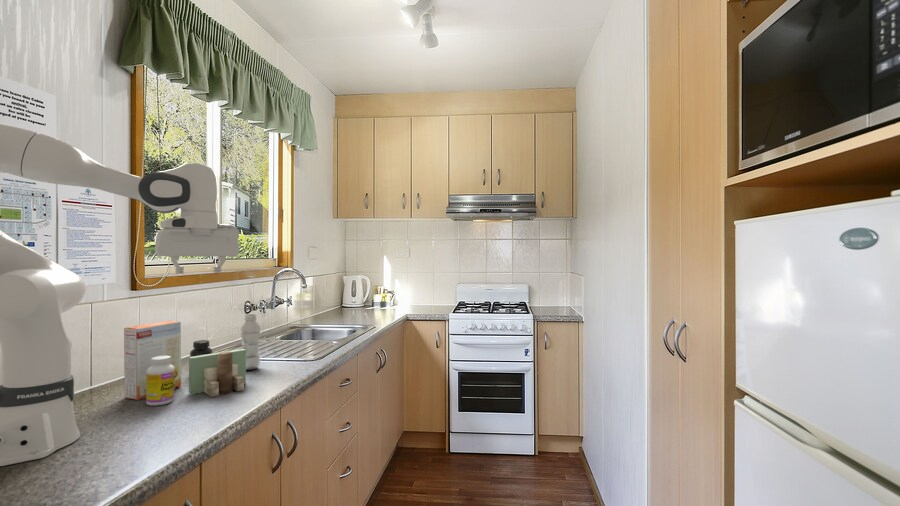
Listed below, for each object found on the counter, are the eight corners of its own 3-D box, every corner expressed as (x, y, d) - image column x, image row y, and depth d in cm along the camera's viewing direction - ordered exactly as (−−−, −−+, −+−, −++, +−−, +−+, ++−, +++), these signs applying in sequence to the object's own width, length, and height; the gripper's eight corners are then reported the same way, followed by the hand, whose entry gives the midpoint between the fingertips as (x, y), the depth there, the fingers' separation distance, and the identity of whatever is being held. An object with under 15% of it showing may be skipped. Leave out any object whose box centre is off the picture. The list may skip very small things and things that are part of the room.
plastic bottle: (242, 367, 160) (243, 313, 160) (262, 366, 161) (262, 313, 161) (237, 372, 153) (237, 316, 153) (257, 371, 155) (258, 316, 155)
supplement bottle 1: (160, 407, 118) (160, 360, 118) (140, 405, 119) (140, 359, 120) (180, 399, 125) (180, 355, 125) (160, 397, 126) (161, 354, 126)
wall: (190, 394, 129) (191, 358, 129) (188, 393, 130) (189, 357, 130) (245, 383, 140) (245, 349, 140) (243, 382, 142) (243, 348, 142)
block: (212, 396, 126) (212, 373, 126) (203, 391, 131) (204, 368, 131) (243, 389, 133) (243, 367, 133) (234, 385, 138) (234, 363, 138)
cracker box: (168, 384, 139) (168, 320, 139) (181, 386, 137) (182, 321, 137) (122, 398, 125) (123, 326, 125) (136, 400, 123) (137, 328, 123)
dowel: (220, 395, 128) (220, 355, 129) (215, 392, 131) (215, 353, 131) (234, 392, 131) (234, 353, 131) (229, 389, 134) (229, 351, 134)
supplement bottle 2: (187, 375, 149) (187, 341, 149) (209, 371, 154) (209, 338, 154) (192, 379, 144) (192, 344, 144) (214, 376, 149) (214, 341, 149)
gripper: (234, 225, 128) (233, 271, 128) (153, 221, 113) (152, 273, 113) (243, 224, 124) (242, 272, 124) (159, 220, 109) (159, 274, 109)
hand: (199, 273), depth 118 cm, fingers open, 8 cm apart
